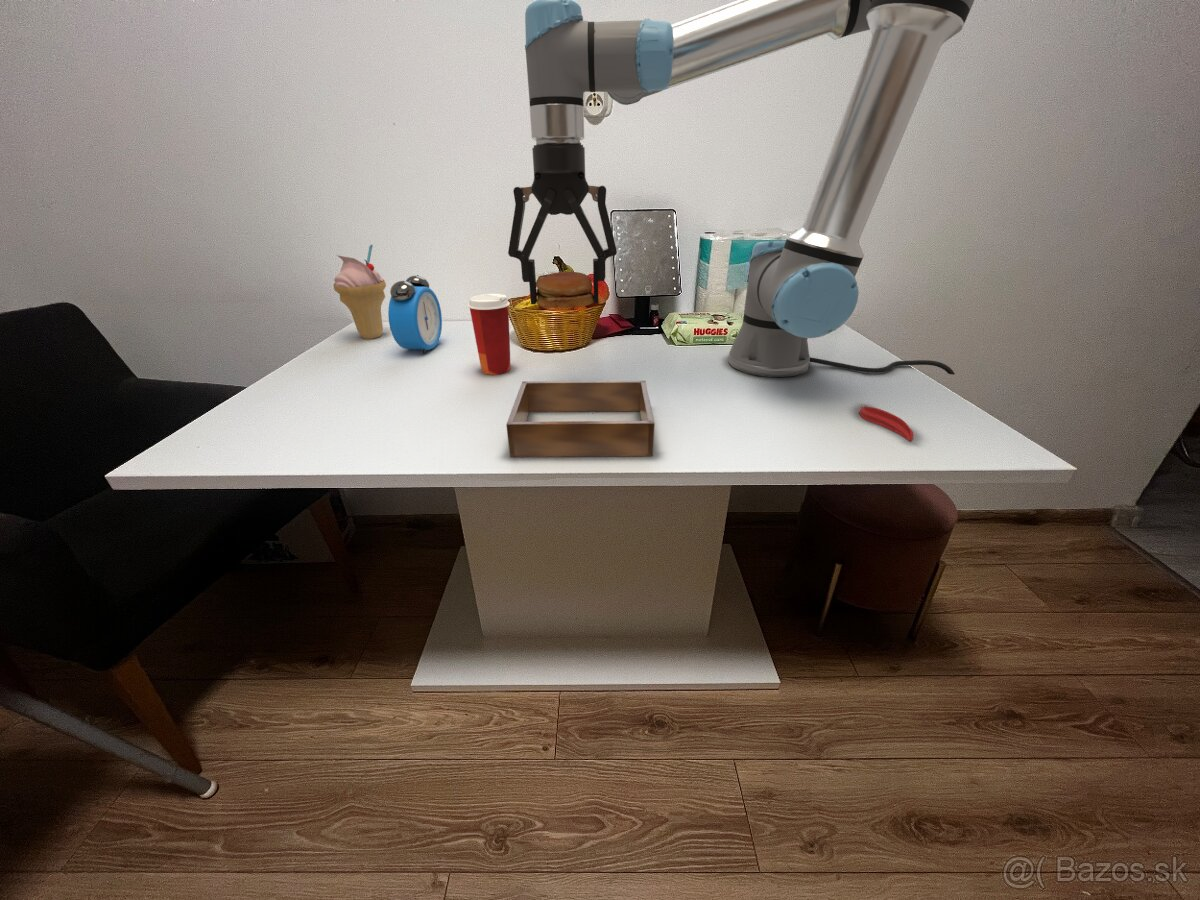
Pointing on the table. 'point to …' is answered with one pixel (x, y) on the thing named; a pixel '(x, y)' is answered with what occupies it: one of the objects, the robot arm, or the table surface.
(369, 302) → the ice cream cone
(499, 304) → the paper cup
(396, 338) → the alarm clock
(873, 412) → the cayenne pepper
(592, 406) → the wooden box
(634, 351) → the table surface
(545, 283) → the burger
